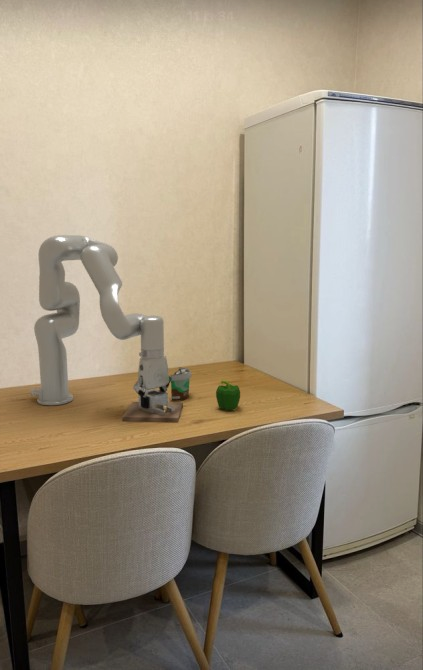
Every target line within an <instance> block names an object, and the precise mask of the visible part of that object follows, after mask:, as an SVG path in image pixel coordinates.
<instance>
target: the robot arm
mask: <svg viewBox="0 0 423 670" xmlns="http://www.w3.org/2000/svg"><path fill="white" fill-rule="evenodd" d="M118 260H119V256H118V253H117V250H115V247H113V246H112V245H110V244H108V243H104V242H101V241H99V240H97V239H94V238H90V237H87V236H85V235H77V234H76V235H74V234H73V235H71V234H70V235H69V234H68V235H67V234H61V235H54V236H50V237H48V238H46V239H45V240H44V241H43V242H41V244H40V246H39V248H38V266H39V276H38V278H39V281H38V282H39V285H38V301H39V306H40V307H41V308H42V309H43V310H45V311H49V312H52V313H48V314H44V315H42V316H40V317H39V318H38V319H36V321H35V322H34V325H33V329H34V335H35V339H36V344H37V351H38V352H37V353H38V361H39V379H40V388H30V391H29V393H30V395H31V396H37V400H36V402H37V403H38V404H39V405H41V406H59V405H64V404H68V403H70V402H72V401H74V395H73V394H72V393H70V392H69V378H68V377H69V374H68V372H69V371H68V358H67V357H68V356H67V349H66V347H65V344H64V342H63V339H64V338H65V339H66V338H68V337H71V336H73V335H75V334H76V333H77V331H78V329H79V327H80V326H79V325H80V311H81V307H80V306H81V298H80V297H81V295H80V293H79V289H78V288H77V286H76V285H75V284H74V283H73V282H70V281H65V279H66V272H65V267H64V265H63V263H62V262H64V261H65V262H67V261H81V263H82V266H83V267H84V269H85V271H86V272H87V274H88V276H89V278H90V280H91V282H92V283H93V285H94V287H95V288H96V291H97V292H98V295H99V308H100V309H99V310H100V315H101V318H102V319H103V321H104V323H105V325H106V327H107V329H108V331H110V333H111V335H113V337H114V338H116V339H117V340H119V341H120V340H121V341H124V340H129V339H131V338H135V337H138V336H140V352H139V353H138V355H139V357H141V358H139V362H138V363H139V364H138V371H137V379H138V380H137V381H136V382H135V384H134V385H133V386H132V388H133V390H134V391H135V392H136V393H137V395H138V394H139V395H138V397H139V396H141V407H143V408H146V409H148V397H147V394H148V391H149V390H152V389H158V390H159V391H163V392H166V393H167V392H168V388H169V387H170V384H171V380H172V378H171V375H170V374H169V365H168V360H167V356H166V355H165V339H164V334H165V332H164V331H165V329H164V328H165V326H164V319H163V317H162V316H159V315H146V314H142V313H133V312H132V313H130V314H127V315H125V314H124V312H123V311H122V308H121V307H120V306H121V305H120V303H119V300H118V299H119V292H120V290H121V288H122V286H123V281H122V279H121V277H120V276H119V274H118V272H117V271H116V270H117V269H116V268H115V266H116V265H117V263H118ZM53 311H56V312H53Z"/></svg>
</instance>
